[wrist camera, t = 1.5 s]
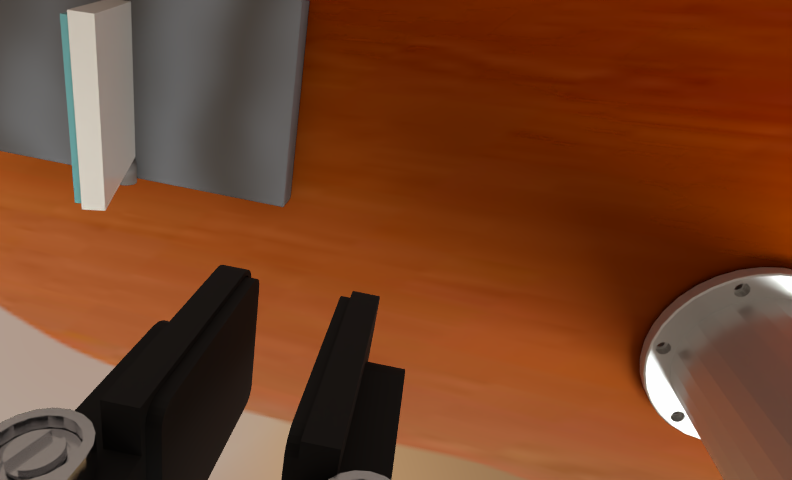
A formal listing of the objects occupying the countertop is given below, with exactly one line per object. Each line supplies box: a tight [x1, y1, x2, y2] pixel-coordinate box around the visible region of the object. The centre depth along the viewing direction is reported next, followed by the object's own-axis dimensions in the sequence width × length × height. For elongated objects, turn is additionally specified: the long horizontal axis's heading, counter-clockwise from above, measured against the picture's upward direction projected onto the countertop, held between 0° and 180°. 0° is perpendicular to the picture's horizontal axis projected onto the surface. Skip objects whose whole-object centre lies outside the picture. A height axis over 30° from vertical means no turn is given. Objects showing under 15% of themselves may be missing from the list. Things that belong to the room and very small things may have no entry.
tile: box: [60, 0, 135, 211], centre depth 25 cm, size 8×8×1 cm
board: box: [0, 0, 309, 207], centre depth 29 cm, size 18×11×3 cm, turn 80°
